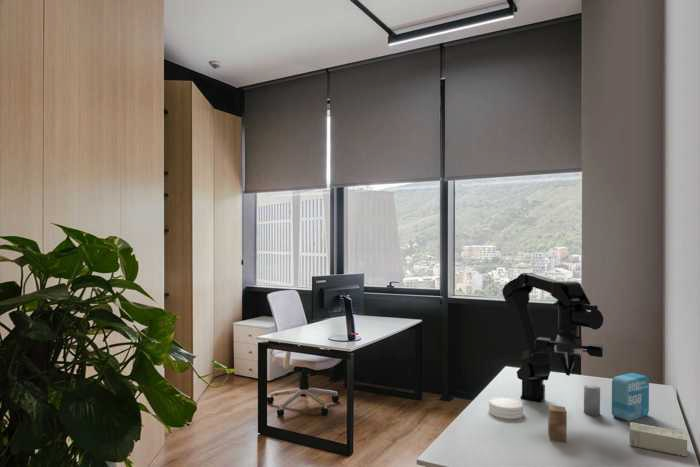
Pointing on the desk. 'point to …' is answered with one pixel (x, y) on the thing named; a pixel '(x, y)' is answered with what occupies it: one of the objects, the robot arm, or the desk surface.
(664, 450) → the skincare box
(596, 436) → the desk surface
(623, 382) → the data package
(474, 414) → the desk surface
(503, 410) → the coaster
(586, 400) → the grey cylinder
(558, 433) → the walnut block
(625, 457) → the desk surface
